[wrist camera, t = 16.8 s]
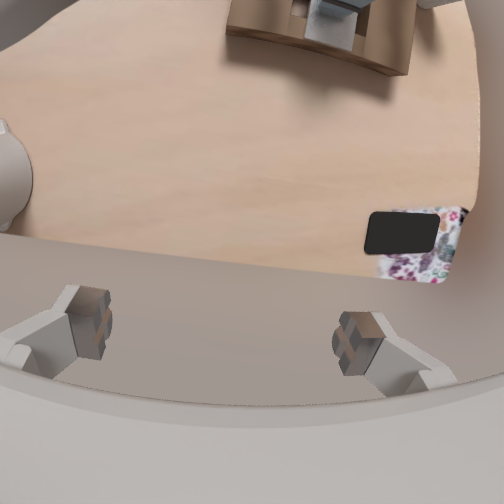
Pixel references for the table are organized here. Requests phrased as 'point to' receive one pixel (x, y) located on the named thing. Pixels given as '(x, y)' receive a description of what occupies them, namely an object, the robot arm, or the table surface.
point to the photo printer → (433, 3)
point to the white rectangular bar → (329, 27)
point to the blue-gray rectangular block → (345, 5)
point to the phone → (401, 232)
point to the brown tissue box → (363, 50)
